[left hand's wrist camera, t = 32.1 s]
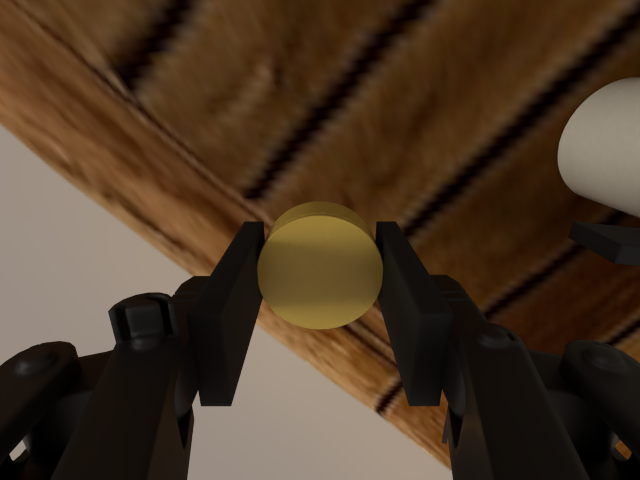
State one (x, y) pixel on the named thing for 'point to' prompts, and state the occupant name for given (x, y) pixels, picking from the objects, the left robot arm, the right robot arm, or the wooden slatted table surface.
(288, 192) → the wooden slatted table surface
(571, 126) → the bottle
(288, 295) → the cap
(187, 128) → the wooden slatted table surface
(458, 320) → the left robot arm
